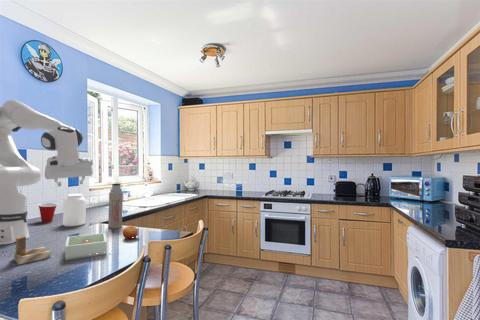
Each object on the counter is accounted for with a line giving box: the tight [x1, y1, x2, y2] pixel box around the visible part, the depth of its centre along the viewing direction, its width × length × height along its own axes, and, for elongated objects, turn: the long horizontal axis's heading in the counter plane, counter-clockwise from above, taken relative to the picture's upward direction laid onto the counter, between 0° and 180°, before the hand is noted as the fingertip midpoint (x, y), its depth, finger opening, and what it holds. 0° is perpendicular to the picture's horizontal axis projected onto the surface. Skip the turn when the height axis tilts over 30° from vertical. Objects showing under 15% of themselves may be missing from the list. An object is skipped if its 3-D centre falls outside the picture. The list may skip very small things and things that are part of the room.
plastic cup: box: [37, 202, 58, 223], centre depth 178 cm, size 11×11×12 cm
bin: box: [64, 232, 108, 261], centre depth 123 cm, size 16×16×6 cm
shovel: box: [13, 236, 51, 265], centre depth 114 cm, size 11×8×10 cm
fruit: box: [122, 225, 139, 241], centre depth 145 cm, size 8×8×8 cm
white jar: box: [62, 193, 87, 227], centre depth 172 cm, size 12×12×20 cm
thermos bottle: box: [107, 183, 124, 229], centre depth 168 cm, size 8×8×28 cm
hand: (70, 184), depth 134 cm, fingers open, 8 cm apart
